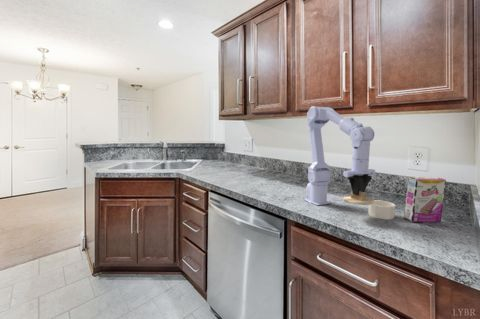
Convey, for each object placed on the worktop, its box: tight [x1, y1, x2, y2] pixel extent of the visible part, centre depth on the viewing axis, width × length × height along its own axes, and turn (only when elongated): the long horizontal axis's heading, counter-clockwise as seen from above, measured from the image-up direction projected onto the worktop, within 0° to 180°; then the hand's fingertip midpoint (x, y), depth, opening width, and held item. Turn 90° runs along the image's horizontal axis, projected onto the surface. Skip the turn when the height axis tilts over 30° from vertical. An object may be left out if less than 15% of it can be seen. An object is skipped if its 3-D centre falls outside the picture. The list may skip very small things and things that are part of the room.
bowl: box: [367, 199, 396, 220], centre depth 100 cm, size 9×9×5 cm
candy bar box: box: [403, 176, 447, 223], centre depth 94 cm, size 11×5×16 cm, turn 92°
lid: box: [343, 190, 375, 206], centre depth 97 cm, size 10×10×4 cm
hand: (358, 194), depth 97 cm, fingers closed on lid, 2 cm apart
